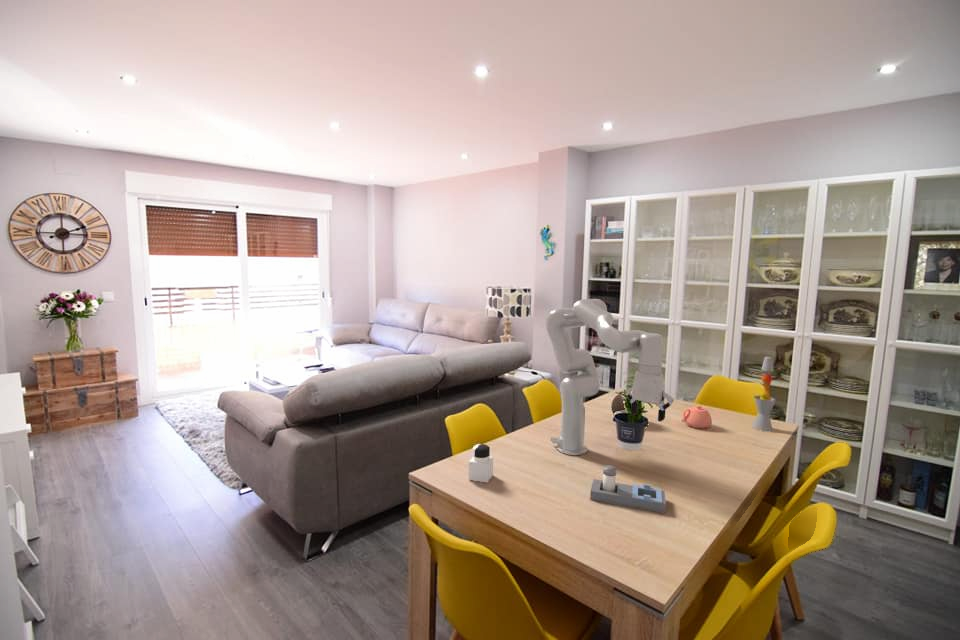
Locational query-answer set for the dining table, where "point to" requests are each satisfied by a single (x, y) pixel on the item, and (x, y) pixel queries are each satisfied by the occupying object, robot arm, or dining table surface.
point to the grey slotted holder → (630, 496)
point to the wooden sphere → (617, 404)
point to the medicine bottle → (481, 464)
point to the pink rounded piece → (697, 417)
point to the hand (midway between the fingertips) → (647, 417)
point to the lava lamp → (764, 400)
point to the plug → (609, 478)
